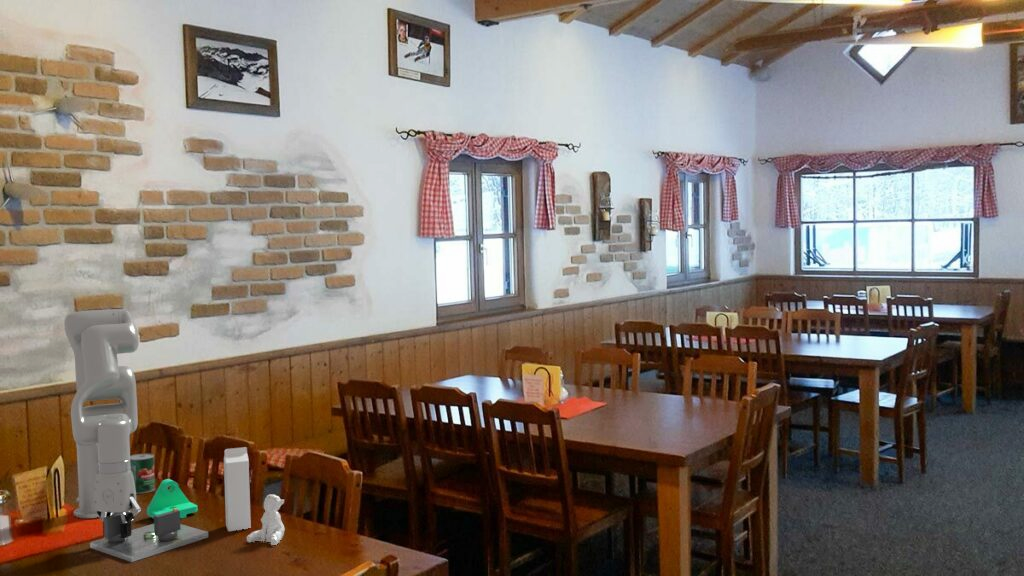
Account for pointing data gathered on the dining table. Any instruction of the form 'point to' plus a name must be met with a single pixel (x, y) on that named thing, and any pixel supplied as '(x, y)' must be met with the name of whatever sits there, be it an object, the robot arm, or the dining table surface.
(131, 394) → the robot arm
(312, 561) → the dining table surface
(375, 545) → the dining table surface
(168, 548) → the plate
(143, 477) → the canned tomato
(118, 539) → the knob
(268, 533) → the sitting furry creature
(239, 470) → the milk
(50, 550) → the dining table surface
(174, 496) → the camera mount
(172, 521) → the knob
